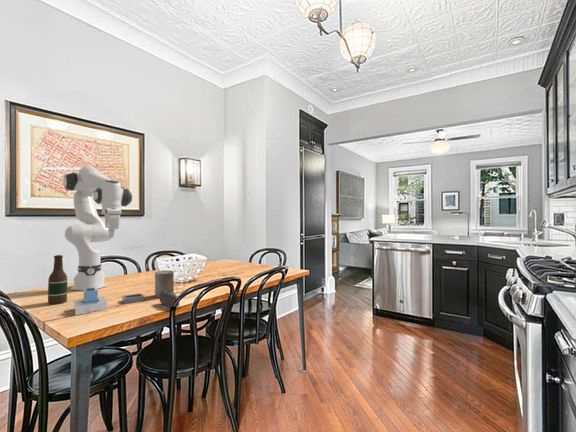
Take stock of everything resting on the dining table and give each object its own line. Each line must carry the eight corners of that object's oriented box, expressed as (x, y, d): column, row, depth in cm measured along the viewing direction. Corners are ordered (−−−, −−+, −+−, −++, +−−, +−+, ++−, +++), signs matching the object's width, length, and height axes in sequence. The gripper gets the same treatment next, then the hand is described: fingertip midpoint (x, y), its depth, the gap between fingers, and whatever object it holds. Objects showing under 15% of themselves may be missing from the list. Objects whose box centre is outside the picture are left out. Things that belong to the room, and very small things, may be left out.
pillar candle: (176, 294, 174) (176, 268, 174) (168, 299, 164) (168, 271, 165) (160, 294, 175) (160, 268, 175) (151, 298, 165) (151, 270, 165)
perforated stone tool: (182, 308, 148) (183, 294, 148) (172, 311, 144) (172, 296, 144) (168, 302, 158) (168, 289, 158) (158, 304, 154) (158, 290, 154)
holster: (122, 301, 158) (122, 295, 158) (140, 299, 164) (140, 293, 164) (125, 304, 153) (125, 298, 153) (144, 302, 158) (144, 296, 158)
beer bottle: (70, 301, 158) (71, 254, 158) (55, 305, 150) (56, 256, 150) (59, 300, 160) (60, 254, 160) (43, 304, 152) (44, 255, 153)
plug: (83, 307, 144) (83, 288, 144) (96, 305, 147) (96, 286, 147) (84, 309, 141) (84, 289, 141) (97, 307, 145) (97, 288, 145)
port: (74, 308, 145) (74, 300, 145) (103, 304, 153) (103, 296, 153) (75, 315, 136) (75, 306, 136) (106, 310, 143) (106, 301, 143)
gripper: (102, 211, 167) (101, 236, 167) (107, 210, 151) (107, 238, 151) (115, 211, 171) (114, 236, 171) (121, 210, 155) (121, 238, 155)
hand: (111, 237), depth 161 cm, fingers closed
